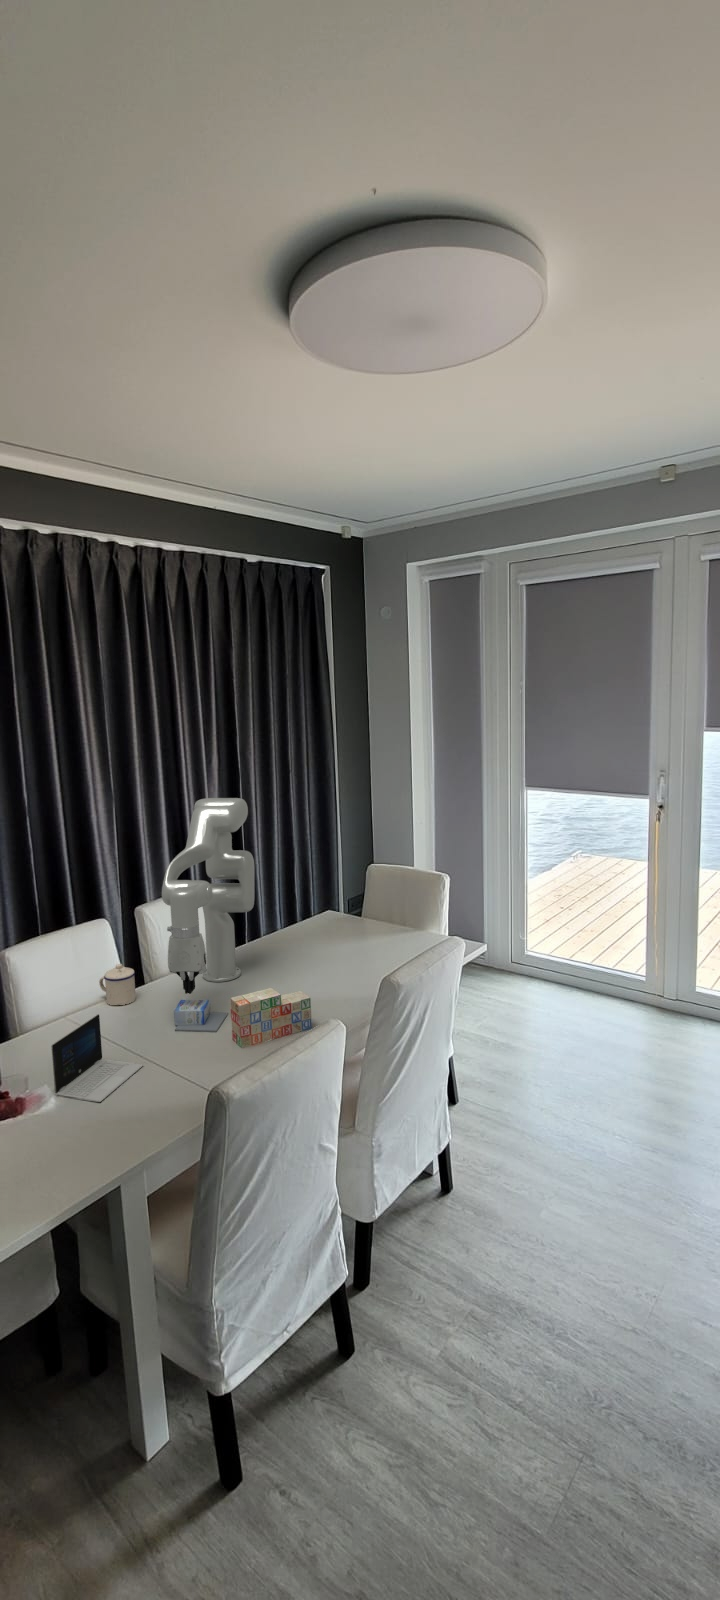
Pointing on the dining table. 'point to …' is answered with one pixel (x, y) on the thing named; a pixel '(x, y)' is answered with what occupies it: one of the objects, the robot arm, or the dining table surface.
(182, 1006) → the medicine box
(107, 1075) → the laptop
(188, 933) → the robot arm
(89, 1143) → the dining table surface
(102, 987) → the teacup with lid
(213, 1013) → the mat
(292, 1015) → the stack of blocks
